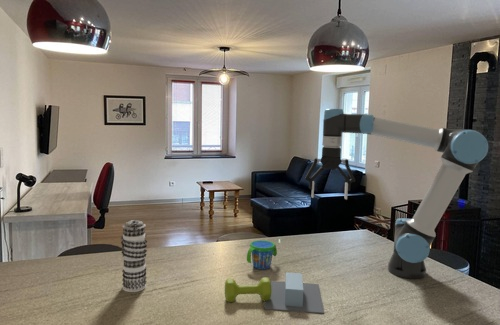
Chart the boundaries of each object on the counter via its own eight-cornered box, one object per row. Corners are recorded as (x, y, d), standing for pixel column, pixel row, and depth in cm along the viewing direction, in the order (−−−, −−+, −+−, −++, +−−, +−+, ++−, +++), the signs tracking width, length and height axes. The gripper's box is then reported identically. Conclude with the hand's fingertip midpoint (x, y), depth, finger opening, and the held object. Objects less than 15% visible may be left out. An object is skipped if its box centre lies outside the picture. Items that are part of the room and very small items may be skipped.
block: (285, 288, 130) (285, 272, 144) (284, 305, 131) (285, 287, 145) (303, 290, 130) (301, 273, 143) (302, 306, 130) (301, 288, 144)
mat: (318, 285, 149) (318, 284, 149) (324, 313, 127) (324, 312, 127) (267, 281, 150) (267, 280, 150) (264, 309, 129) (264, 308, 129)
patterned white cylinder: (120, 283, 145) (120, 219, 142) (146, 280, 149) (145, 217, 146) (122, 294, 137) (121, 226, 134) (148, 290, 140) (148, 224, 137)
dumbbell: (269, 293, 139) (270, 274, 139) (272, 303, 132) (272, 283, 131) (224, 294, 138) (224, 275, 138) (224, 305, 131) (224, 285, 130)
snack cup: (269, 259, 174) (269, 237, 173) (283, 267, 165) (284, 244, 164) (240, 266, 166) (240, 243, 164) (253, 274, 157) (254, 250, 156)
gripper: (301, 146, 153) (299, 198, 156) (364, 148, 151) (361, 201, 154) (300, 145, 161) (298, 194, 163) (361, 147, 158) (358, 197, 161)
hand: (329, 198), depth 158 cm, fingers open, 13 cm apart
